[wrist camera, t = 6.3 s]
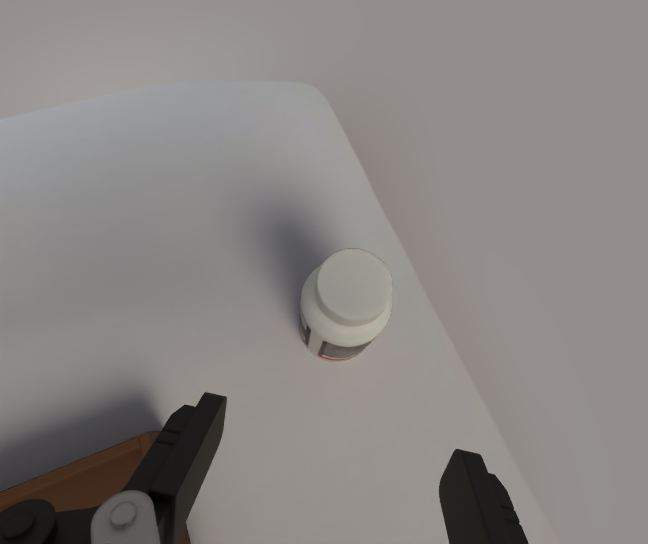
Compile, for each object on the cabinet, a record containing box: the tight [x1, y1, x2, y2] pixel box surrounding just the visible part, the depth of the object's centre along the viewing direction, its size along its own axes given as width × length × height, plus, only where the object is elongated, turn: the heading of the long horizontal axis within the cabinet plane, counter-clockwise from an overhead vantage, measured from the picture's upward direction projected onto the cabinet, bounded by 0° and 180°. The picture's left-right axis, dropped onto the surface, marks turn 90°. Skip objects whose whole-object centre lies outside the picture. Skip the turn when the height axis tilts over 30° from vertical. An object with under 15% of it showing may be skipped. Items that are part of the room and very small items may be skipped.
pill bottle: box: [300, 248, 393, 362], centre depth 23 cm, size 5×5×10 cm
